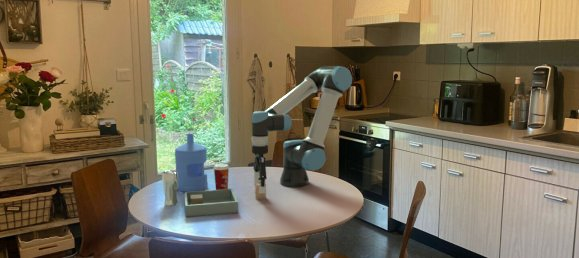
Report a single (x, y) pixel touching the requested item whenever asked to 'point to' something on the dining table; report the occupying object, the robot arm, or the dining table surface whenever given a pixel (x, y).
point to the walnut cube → (196, 199)
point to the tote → (212, 203)
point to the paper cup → (221, 176)
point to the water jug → (191, 166)
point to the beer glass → (170, 187)
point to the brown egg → (259, 195)
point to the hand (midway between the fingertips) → (259, 189)
